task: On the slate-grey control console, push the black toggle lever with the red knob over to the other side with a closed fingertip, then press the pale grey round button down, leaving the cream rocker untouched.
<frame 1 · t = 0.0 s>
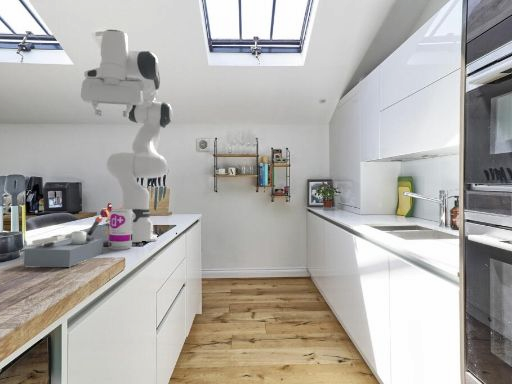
hand: (111, 116, 109), 48 cm above the countertop, fingers open, 8 cm apart
supplement can: (120, 248, 120), on the countertop
console: (67, 259, 97), on the countertop
lever: (96, 223, 104), point 11 cm above the countertop, hinge at -30.0°
rocker: (49, 239, 91), point 7 cm above the countertop, hinge at 12.0°
button: (78, 237, 97), point 7 cm above the countertop, slide at 0.0 cm
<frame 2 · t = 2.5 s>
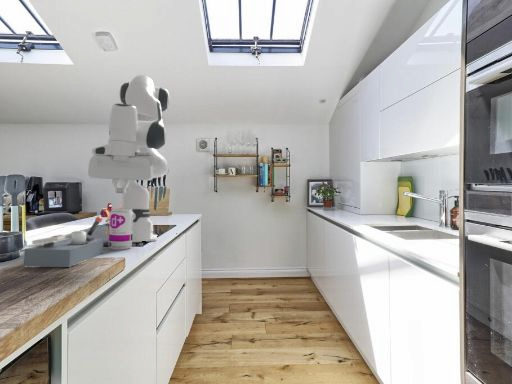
hand: (120, 193, 104), 21 cm above the countertop, fingers closed
nothing on the countertop moved.
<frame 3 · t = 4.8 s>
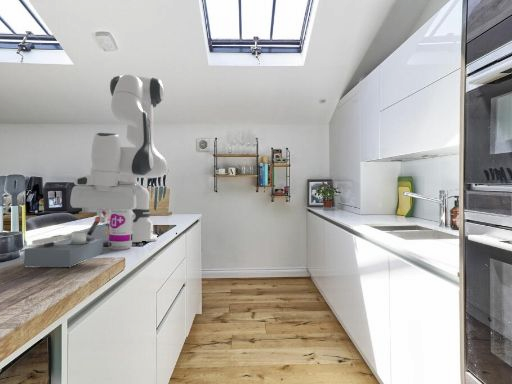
hand: (103, 222, 104), 11 cm above the countertop, fingers closed, pressing on lever
lever: (95, 223, 104), point 11 cm above the countertop, hinge at -28.7°, touching gripper
everything else where it was.
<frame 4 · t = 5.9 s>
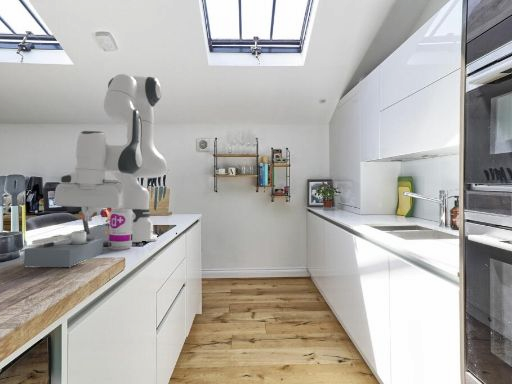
hand: (87, 221, 103), 12 cm above the countertop, fingers closed, pressing on lever
lever: (85, 221, 103), point 11 cm above the countertop, hinge at 12.8°, touching gripper
everything else where it was.
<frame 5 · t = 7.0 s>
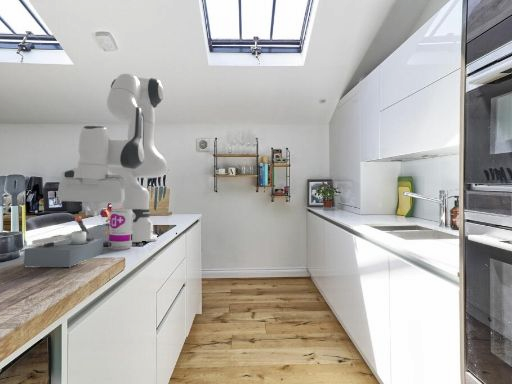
hand: (91, 215, 103), 13 cm above the countertop, fingers closed
lever: (80, 223, 103), point 11 cm above the countertop, hinge at 30.4°
everything else where it was.
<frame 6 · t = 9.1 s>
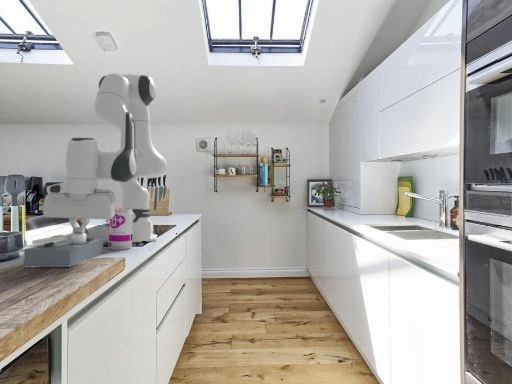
hand: (78, 233, 97), 8 cm above the countertop, fingers closed, pressing on button
lever: (80, 223, 103), point 11 cm above the countertop, hinge at 30.9°
button: (78, 239, 97), point 6 cm above the countertop, slide at 0.4 cm, touching gripper
everything else where it was.
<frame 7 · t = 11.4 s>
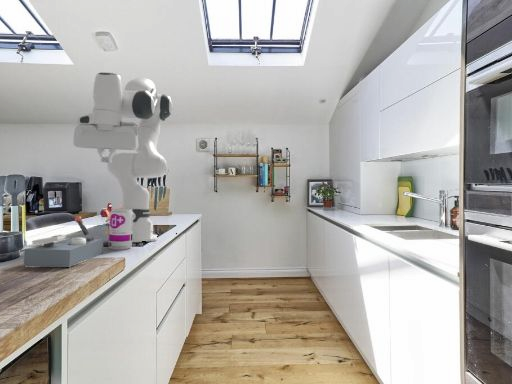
hand: (106, 162, 105), 31 cm above the countertop, fingers closed
button: (78, 244, 97), point 5 cm above the countertop, slide at 2.0 cm
everything else where it was.
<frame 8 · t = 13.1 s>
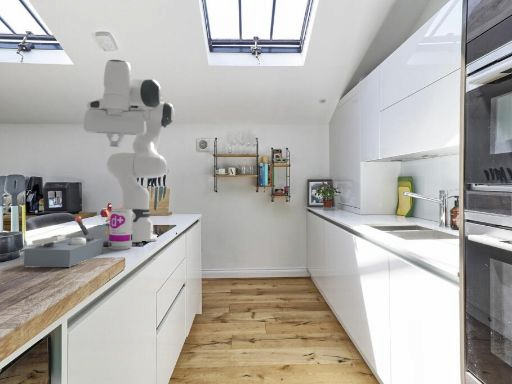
hand: (114, 146, 108), 37 cm above the countertop, fingers closed
nothing on the countertop moved.
at the end: lever at +31° (first picture: -30°); button slide at 2.0 cm; rocker at +12° (first picture: +12°) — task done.
